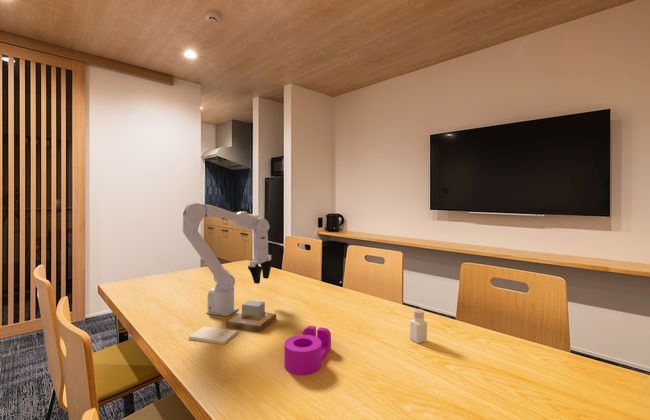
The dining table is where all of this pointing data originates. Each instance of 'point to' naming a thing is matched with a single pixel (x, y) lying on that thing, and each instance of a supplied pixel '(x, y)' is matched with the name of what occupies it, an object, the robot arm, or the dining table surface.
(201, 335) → the external hard drive
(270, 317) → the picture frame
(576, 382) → the dining table surface
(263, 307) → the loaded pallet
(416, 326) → the salt shaker
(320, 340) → the magenta clevis bracket
